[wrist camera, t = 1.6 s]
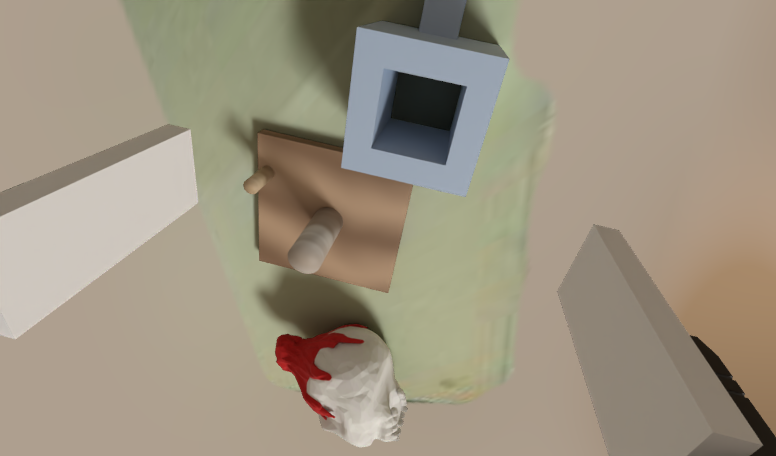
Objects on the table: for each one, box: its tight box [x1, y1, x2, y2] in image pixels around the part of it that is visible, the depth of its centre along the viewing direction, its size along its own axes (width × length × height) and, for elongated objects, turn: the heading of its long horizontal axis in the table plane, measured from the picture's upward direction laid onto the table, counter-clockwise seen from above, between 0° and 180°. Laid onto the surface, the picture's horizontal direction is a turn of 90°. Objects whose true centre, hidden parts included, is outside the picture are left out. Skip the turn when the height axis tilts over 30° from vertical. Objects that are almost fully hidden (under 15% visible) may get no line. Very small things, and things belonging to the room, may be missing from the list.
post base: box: [257, 129, 413, 293], centre depth 31 cm, size 13×13×7 cm
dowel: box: [243, 166, 275, 194], centre depth 31 cm, size 1×1×3 cm
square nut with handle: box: [341, 0, 509, 197], centre depth 24 cm, size 12×8×7 cm
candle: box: [275, 324, 408, 447], centre depth 39 cm, size 9×11×15 cm
